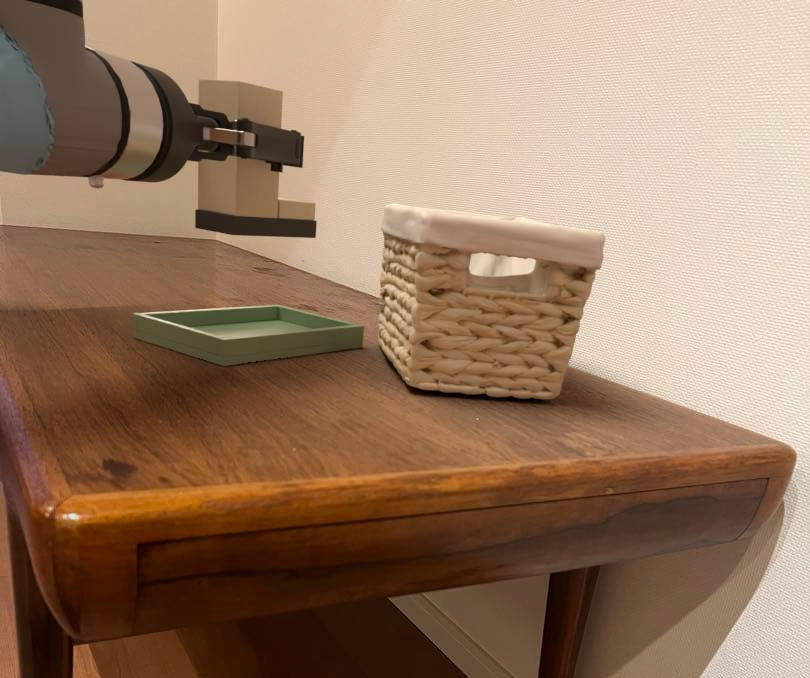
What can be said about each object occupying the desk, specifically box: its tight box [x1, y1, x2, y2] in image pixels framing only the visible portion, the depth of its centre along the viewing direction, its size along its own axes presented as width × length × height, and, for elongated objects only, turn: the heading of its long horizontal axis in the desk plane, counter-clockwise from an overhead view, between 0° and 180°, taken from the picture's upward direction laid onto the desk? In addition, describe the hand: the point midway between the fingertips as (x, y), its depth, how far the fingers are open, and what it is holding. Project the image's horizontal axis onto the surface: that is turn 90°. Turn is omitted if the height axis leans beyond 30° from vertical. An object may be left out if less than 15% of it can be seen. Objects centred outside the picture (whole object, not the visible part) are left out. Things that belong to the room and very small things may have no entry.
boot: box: [194, 78, 318, 239], centre depth 72 cm, size 11×5×12 cm, turn 144°
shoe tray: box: [131, 304, 365, 367], centre depth 79 cm, size 13×20×2 cm, turn 144°
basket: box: [377, 202, 606, 400], centre depth 75 cm, size 24×16×15 cm
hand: (264, 147), depth 74 cm, fingers closed on boot, 6 cm apart
